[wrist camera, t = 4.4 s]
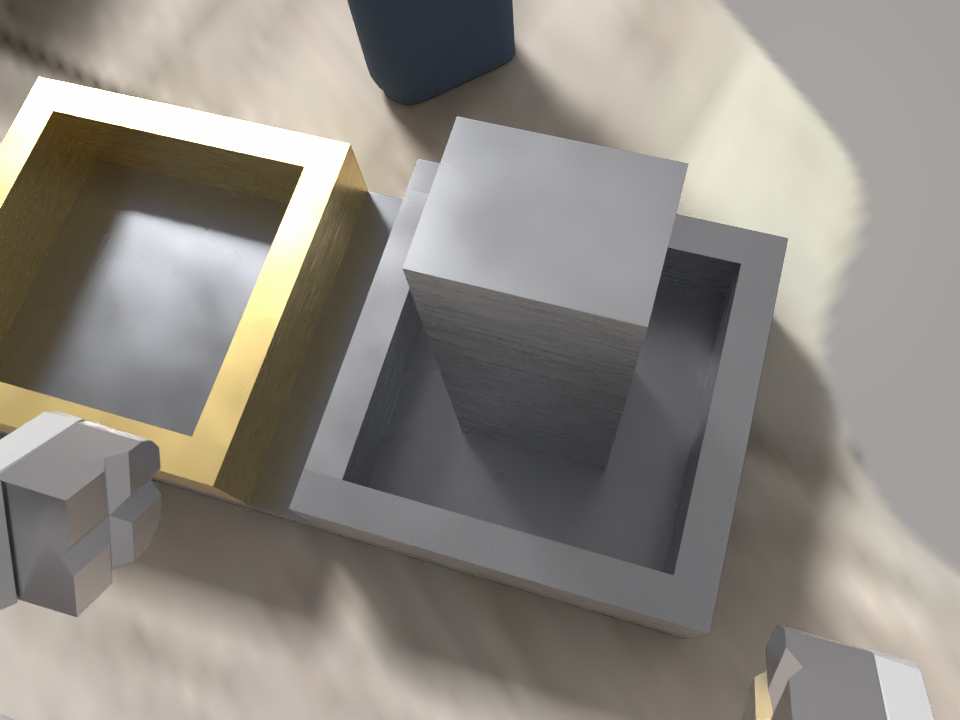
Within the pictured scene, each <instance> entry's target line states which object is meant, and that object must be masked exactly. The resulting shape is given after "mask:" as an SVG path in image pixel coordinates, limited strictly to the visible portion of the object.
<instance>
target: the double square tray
mask: <svg viewBox="0 0 960 720" xmlns="http://www.w3.org/2000/svg"><path fill="white" fill-rule="evenodd" d="M439 165H440V163H437V162H432V161H427V160H423V159H418V160H417V163H416V166H415V168H414V171H413V174H412V176H411V179H410V182H409V185H408V187H407V190H406V193H405V195H404V198H403V199H399V198H395V197H391V196H386V195H382V194H377V193H373V192H368V189H367V187H366V184H365V181H364V179H363V176H362V173H361V171H360V168H359V165H358V163H357V160H356V157H355V155H354V152H353V149H352V147H351V144H348V143H344V142H339V141H335V140H330V139H325V138H321V137H316V136H311V135H307V134H302V133H297V132H293V131H288V130H284V129H279V128H274V127H270V126H265V125H260V124H256V123H251V122H246V121H242V120H237V119H232V118H228V117H223V116H219V115H214V114H209V113H205V112H200V111H195V110H191V109H186V108H181V107H177V106H172V105H168V104H163V103H158V102H154V101H149V100H144V99H140V98H135V97H130V96H126V95H121V94H116V93H112V92H107V91H103V90H98V89H93V88H89V87H84V86H79V85H75V84H70V83H65V82H61V81H56V80H52V79H47V78H42V77H38V79H37V81H36V83H35V85H34V86H33V88H32V90H31V92H30V93H29V95H28V97H27V99H26V101H25V102H24V104H23V106H22V108H21V110H20V111H19V113H18V115H17V117H16V119H15V120H14V122H13V124H12V126H11V128H10V129H9V131H8V133H7V135H6V137H5V138H4V140H3V142H2V144H1V146H0V434H3V435H6V436H7V435H8V434H10V433H12V432H13V431H15V430H16V429H18V428H20V427H21V426H23V425H24V424H26V423H28V422H29V421H31V420H32V419H34V418H35V417H37V416H39V415H40V414H42V413H43V412H48V411H59V412H63V413H66V414H69V415H72V416H76V417H79V418H82V419H84V420H90V421H93V422H96V423H99V424H102V425H106V426H109V427H112V428H115V429H118V430H121V431H124V432H127V433H131V434H134V435H137V436H140V437H143V438H146V439H149V440H152V441H153V442H154V443H155V444H156V445H157V446H158V447H159V452H160V465H161V469H160V470H159V471H158V472H157V473H156V474H155V475H154V476H153V477H152V478H151V479H153V480H157V481H160V482H163V483H167V484H170V485H173V486H177V487H180V488H183V489H187V490H190V491H193V492H197V493H200V494H203V495H207V496H210V497H213V498H217V499H220V500H223V501H227V502H230V503H233V504H237V505H240V506H243V507H247V508H250V509H253V510H257V511H260V512H263V513H267V514H270V515H273V516H277V517H280V518H283V519H287V520H290V521H293V522H297V523H300V524H303V525H307V526H310V527H313V528H317V529H320V530H323V531H327V532H330V533H333V534H337V535H340V536H343V537H347V538H350V539H353V540H357V541H360V542H363V543H367V544H370V545H373V546H377V547H380V548H384V549H387V550H390V551H394V552H397V553H400V554H404V555H407V556H410V557H414V558H417V559H420V560H424V561H427V562H430V563H434V564H437V565H440V566H444V567H447V568H450V569H454V570H457V571H460V572H464V573H467V574H470V575H474V576H477V577H480V578H484V579H487V580H490V581H494V582H497V583H500V584H504V585H507V586H510V587H514V588H517V589H520V590H524V591H527V592H530V593H534V594H537V595H540V596H544V597H547V598H550V599H554V600H557V601H560V602H564V603H567V604H570V605H574V606H577V607H580V608H584V609H587V610H590V611H594V612H597V613H601V614H604V615H607V616H611V617H614V618H617V619H621V620H624V621H627V622H631V623H634V624H637V625H641V626H644V627H647V628H651V629H654V630H657V631H661V632H664V633H667V634H671V635H674V636H677V637H681V638H684V639H687V638H692V637H696V636H701V635H706V634H710V629H711V624H712V619H713V614H714V609H715V604H716V599H717V594H718V589H719V584H720V579H721V574H722V569H723V564H724V559H725V554H726V549H727V544H728V539H729V534H730V529H731V524H732V519H733V514H734V509H735V504H736V498H737V493H738V488H739V483H740V478H741V473H742V468H743V463H744V458H745V453H746V448H747V443H748V438H749V433H750V428H751V423H752V418H753V413H754V408H755V403H756V398H757V393H758V388H759V383H760V378H761V373H762V367H763V362H764V357H765V352H766V347H767V342H768V337H769V332H770V327H771V322H772V317H773V312H774V307H775V302H776V297H777V292H778V287H779V282H780V277H781V272H782V267H783V262H784V257H785V252H786V247H787V242H788V238H785V237H780V236H775V235H771V234H766V233H761V232H757V231H752V230H747V229H743V228H738V227H733V226H729V225H724V224H720V223H715V222H710V221H706V220H701V219H696V218H692V217H687V216H682V215H678V214H676V216H675V220H674V224H673V228H672V232H671V236H670V240H669V244H668V248H667V252H666V256H665V260H664V264H663V268H662V272H661V276H660V280H659V284H658V288H657V292H656V296H655V300H654V304H653V308H652V312H651V316H650V320H649V324H648V328H647V332H646V335H645V338H644V342H643V345H642V348H641V352H640V355H639V359H638V362H637V365H636V369H635V372H634V376H633V379H632V382H631V386H630V389H629V393H628V396H627V399H626V403H625V406H624V410H623V413H622V416H621V420H620V423H619V427H618V430H617V433H616V437H615V440H614V444H613V447H612V450H611V454H610V457H609V461H608V464H607V467H606V470H603V469H599V468H595V467H591V466H588V465H584V464H580V463H577V462H573V461H569V460H566V459H562V458H558V457H554V456H551V455H547V454H543V453H540V452H536V451H532V450H529V449H525V448H521V447H517V446H514V445H510V444H506V443H503V442H499V441H495V440H492V439H488V438H484V437H480V436H477V435H473V434H469V433H466V432H462V431H461V428H460V425H459V422H458V420H457V417H456V414H455V411H454V409H453V406H452V403H451V400H450V398H449V395H448V392H447V389H446V387H445V384H444V381H443V378H442V376H441V373H440V370H439V367H438V365H437V362H436V359H435V356H434V354H433V351H432V348H431V345H430V343H429V340H428V337H427V334H426V332H425V329H424V326H423V324H422V321H421V318H420V315H419V313H418V310H417V307H416V304H415V302H414V299H413V296H412V293H411V291H410V288H409V285H408V282H407V280H406V277H405V274H404V271H403V269H402V268H403V265H404V262H405V260H406V257H407V254H408V251H409V249H410V246H411V243H412V240H413V237H414V235H415V232H416V229H417V226H418V223H419V221H420V218H421V215H422V212H423V210H424V207H425V204H426V201H427V198H428V196H429V193H430V190H431V187H432V184H433V182H434V179H435V176H436V173H437V170H438V168H439Z"/></svg>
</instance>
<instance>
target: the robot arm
mask: <svg viewBox="0 0 960 720" xmlns="http://www.w3.org/2000/svg"><path fill="white" fill-rule="evenodd" d="M160 469H161V465H160V452H159V447H158V446H157V445H156V444H155V443H154V442H153V441H152V440H149V439H146V438H143V437H140V436H137V435H134V434H131V433H127V432H124V431H121V430H118V429H115V428H112V427H109V426H106V425H102V424H99V423H96V422H93V421H90V420H84V419H82V418H79V417H76V416H72V415H69V414H66V413H63V412H59V411H48V412H43V413H42V414H40V415H39V416H37V417H35V418H34V419H32V420H31V421H29V422H28V423H26V424H24V425H23V426H21V427H20V428H18V429H16V430H15V431H13V432H12V433H10V434H8V435H7V436H5V437H4V438H2V439H0V610H2V609H4V608H6V607H8V606H11V605H13V604H15V603H17V599H19V600H22V601H26V602H29V603H32V604H35V605H39V606H42V607H45V608H48V609H52V610H55V611H58V612H61V613H65V614H68V615H71V616H75V617H78V616H79V615H80V614H81V613H82V612H83V611H84V610H85V609H86V608H87V607H88V606H89V605H90V604H91V603H92V602H93V601H94V600H95V599H96V598H98V597H99V596H100V595H101V594H102V593H103V592H104V591H105V590H106V589H107V588H108V587H109V586H110V585H111V584H112V569H115V568H117V567H120V566H123V565H126V564H129V563H132V562H134V561H135V560H136V559H137V558H138V557H139V556H140V555H141V554H142V553H143V552H144V551H145V550H146V549H147V548H148V546H149V544H150V542H151V540H152V539H153V537H154V535H155V533H156V531H157V529H158V527H159V522H160V517H161V513H162V495H161V494H160V492H159V491H158V489H157V488H156V486H155V484H154V483H153V481H152V480H151V478H152V477H153V476H154V475H155V474H156V473H157V472H158V471H159V470H160ZM766 662H767V671H765V672H763V673H761V674H759V675H757V676H755V677H754V680H753V683H752V685H751V688H750V691H749V694H748V696H747V700H746V704H745V709H744V713H743V717H742V720H935V718H934V715H933V711H932V708H931V704H930V701H929V697H928V694H927V690H926V687H925V683H924V680H923V676H922V673H921V669H920V668H919V666H918V665H917V664H916V663H915V662H914V661H912V660H908V659H904V658H901V657H897V656H893V655H889V654H886V653H882V652H878V651H874V650H871V649H867V650H865V649H862V648H859V647H855V646H852V645H849V644H845V643H842V642H838V641H835V640H831V639H828V638H824V637H821V636H817V635H814V634H810V633H807V632H803V631H800V630H796V629H793V628H789V627H786V626H783V625H778V626H777V628H776V629H775V631H774V632H773V634H772V636H771V638H770V641H769V643H768V645H767V648H766ZM0 720H14V719H12V718H9V717H6V716H4V715H1V714H0Z"/></svg>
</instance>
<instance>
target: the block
mask: <svg viewBox="0 0 960 720" xmlns="http://www.w3.org/2000/svg"><path fill="white" fill-rule="evenodd" d="M687 168H688V163H683V162H678V161H673V160H668V159H663V158H659V157H654V156H649V155H644V154H639V153H634V152H629V151H624V150H620V149H615V148H610V147H605V146H600V145H595V144H590V143H585V142H581V141H576V140H571V139H566V138H561V137H556V136H551V135H546V134H542V133H537V132H532V131H527V130H522V129H517V128H512V127H507V126H502V125H498V124H493V123H488V122H483V121H478V120H473V119H468V118H463V117H459V116H457V117H456V120H455V123H454V126H453V129H452V131H451V134H450V137H449V140H448V143H447V145H446V148H445V151H444V154H443V157H442V159H441V162H440V165H439V168H438V170H437V173H436V176H435V179H434V182H433V184H432V187H431V190H430V193H429V196H428V198H427V201H426V204H425V207H424V210H423V212H422V215H421V218H420V221H419V223H418V226H417V229H416V232H415V235H414V237H413V240H412V243H411V246H410V249H409V251H408V254H407V257H406V260H405V262H404V265H403V268H402V269H403V271H404V274H405V277H406V280H407V282H408V285H409V288H410V291H411V293H412V296H413V299H414V302H415V304H416V307H417V310H418V313H419V315H420V318H421V321H422V324H423V326H424V329H425V332H426V334H427V337H428V340H429V343H430V345H431V348H432V351H433V354H434V356H435V359H436V362H437V365H438V367H439V370H440V373H441V376H442V378H443V381H444V384H445V387H446V389H447V392H448V395H449V398H450V400H451V403H452V406H453V409H454V411H455V414H456V417H457V420H458V422H459V425H460V428H461V431H462V432H466V433H469V434H473V435H477V436H480V437H484V438H488V439H492V440H495V441H499V442H503V443H506V444H510V445H514V446H517V447H521V448H525V449H529V450H532V451H536V452H540V453H543V454H547V455H551V456H554V457H558V458H562V459H566V460H569V461H573V462H577V463H580V464H584V465H588V466H591V467H595V468H599V469H603V470H606V467H607V464H608V461H609V457H610V454H611V450H612V447H613V444H614V440H615V437H616V433H617V430H618V427H619V423H620V420H621V416H622V413H623V410H624V406H625V403H626V399H627V396H628V393H629V389H630V386H631V382H632V379H633V376H634V372H635V369H636V365H637V362H638V359H639V355H640V352H641V348H642V345H643V342H644V338H645V335H646V332H647V328H648V324H649V320H650V316H651V312H652V308H653V304H654V300H655V296H656V292H657V288H658V284H659V280H660V276H661V272H662V268H663V264H664V260H665V256H666V252H667V248H668V244H669V240H670V236H671V232H672V228H673V224H674V220H675V216H676V212H677V208H678V204H679V200H680V196H681V192H682V188H683V184H684V180H685V176H686V172H687Z"/></svg>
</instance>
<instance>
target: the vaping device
mask: <svg viewBox="0 0 960 720" xmlns="http://www.w3.org/2000/svg"><path fill="white" fill-rule="evenodd" d="M347 1H348V4H349V7H350V11H351V14H352V17H353V21H354V24H355V27H356V31H357V34H358V37H359V41H360V44H361V47H362V51H363V54H364V57H365V61H366V64H367V67H368V70H369V73H370V75H371V77H372V78H373V80H374V81H375V83H376V84H377V85H378V86H379V88H381V89H382V90H383V91H384V92H385V93H386V94H387V95H388V96H389V97H390V98H392V99H393V100H395V101H397V102H400V103H405V104H415V103H419V102H422V101H425V100H427V99H429V98H431V97H433V96H435V95H438V94H440V93H442V92H444V91H446V90H448V89H451V88H453V87H455V86H457V85H459V84H461V83H464V82H466V81H468V80H470V79H472V78H474V77H477V76H479V75H481V74H483V73H485V72H488V71H490V70H492V69H494V68H496V67H498V66H501V65H503V64H505V63H506V62H508V61H509V60H510V59H511V58H512V57H513V56H514V54H515V44H514V25H513V6H512V0H347Z"/></svg>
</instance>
